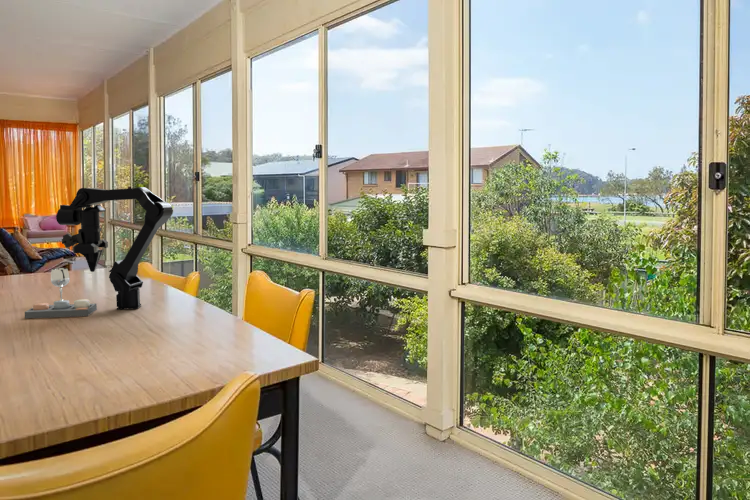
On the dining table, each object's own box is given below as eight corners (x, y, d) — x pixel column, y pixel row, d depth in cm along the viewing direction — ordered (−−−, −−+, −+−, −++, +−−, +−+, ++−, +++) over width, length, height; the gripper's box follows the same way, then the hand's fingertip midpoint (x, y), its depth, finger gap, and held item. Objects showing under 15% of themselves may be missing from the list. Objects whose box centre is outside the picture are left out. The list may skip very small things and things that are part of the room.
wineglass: (56, 305, 195) (54, 270, 193) (49, 303, 198) (47, 269, 197) (73, 302, 199) (72, 268, 198) (66, 300, 203) (64, 267, 201)
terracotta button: (51, 310, 183) (50, 302, 182) (46, 313, 178) (46, 305, 178) (36, 311, 182) (35, 303, 181) (31, 314, 177) (30, 306, 177)
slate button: (71, 307, 184) (71, 299, 183) (67, 310, 179) (66, 302, 179) (56, 308, 183) (56, 300, 183) (51, 311, 179) (51, 303, 178)
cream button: (91, 307, 185) (91, 299, 185) (87, 309, 181) (87, 301, 180) (76, 307, 184) (76, 299, 184) (72, 310, 180) (72, 302, 180)
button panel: (96, 309, 188) (96, 302, 188) (87, 316, 178) (87, 308, 178) (37, 311, 184) (36, 304, 184) (24, 318, 175) (24, 311, 174)
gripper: (73, 223, 197) (75, 268, 199) (54, 227, 179) (57, 276, 180) (107, 223, 199) (109, 267, 201) (92, 227, 181) (94, 275, 183)
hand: (92, 271), depth 191 cm, fingers closed
